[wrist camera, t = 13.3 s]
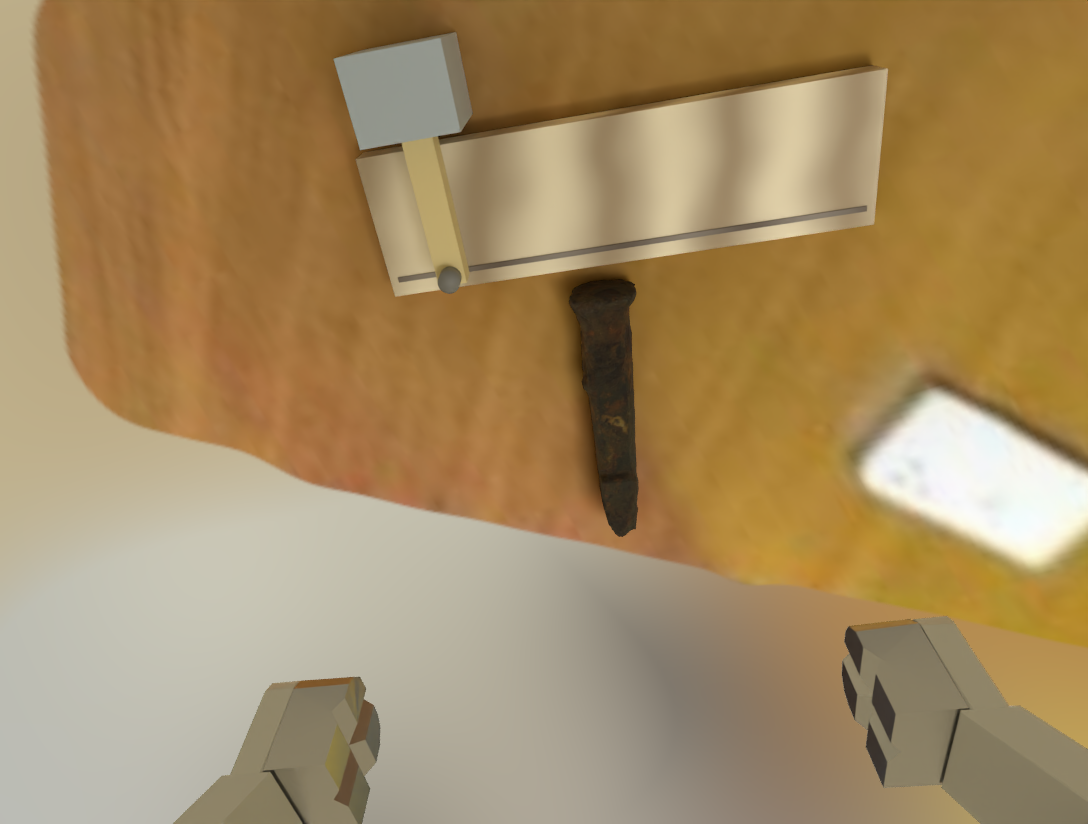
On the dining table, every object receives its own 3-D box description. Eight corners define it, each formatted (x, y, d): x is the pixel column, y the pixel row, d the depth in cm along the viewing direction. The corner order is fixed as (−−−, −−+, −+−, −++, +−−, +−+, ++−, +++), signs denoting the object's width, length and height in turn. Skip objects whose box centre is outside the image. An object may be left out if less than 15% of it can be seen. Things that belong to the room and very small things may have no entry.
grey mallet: (456, 31, 36) (440, 37, 30) (501, 254, 42) (494, 290, 37) (363, 49, 36) (333, 58, 31) (422, 267, 42) (404, 304, 37)
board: (872, 65, 36) (888, 68, 34) (860, 214, 40) (874, 224, 38) (364, 152, 39) (354, 159, 37) (401, 284, 43) (394, 297, 41)
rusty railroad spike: (568, 276, 43) (569, 305, 39) (632, 272, 43) (640, 301, 39) (583, 510, 53) (585, 552, 49) (635, 508, 52) (641, 550, 48)
